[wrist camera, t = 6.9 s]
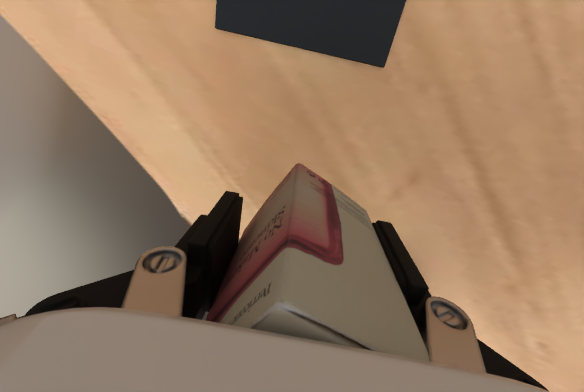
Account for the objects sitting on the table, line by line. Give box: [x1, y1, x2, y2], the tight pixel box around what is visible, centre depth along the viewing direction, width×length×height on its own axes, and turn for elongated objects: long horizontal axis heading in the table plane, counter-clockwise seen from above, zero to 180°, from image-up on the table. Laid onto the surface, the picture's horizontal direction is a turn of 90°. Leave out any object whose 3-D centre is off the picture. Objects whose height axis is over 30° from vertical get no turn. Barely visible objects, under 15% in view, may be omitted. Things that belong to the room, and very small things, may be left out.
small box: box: [205, 163, 430, 361], centre depth 9 cm, size 5×4×8 cm
